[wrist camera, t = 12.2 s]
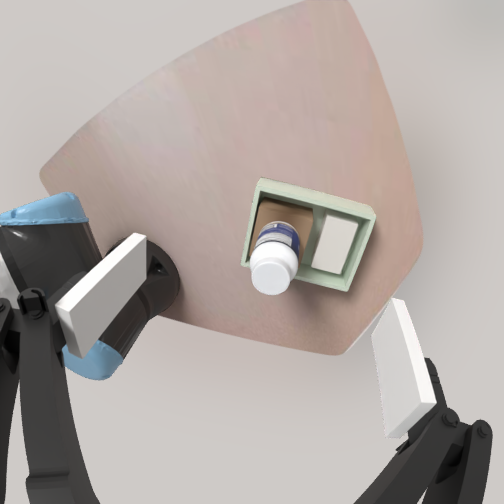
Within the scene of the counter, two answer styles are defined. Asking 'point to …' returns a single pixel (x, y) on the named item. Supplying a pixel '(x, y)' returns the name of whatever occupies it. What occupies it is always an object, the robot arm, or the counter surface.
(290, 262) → the pill bottle
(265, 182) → the box
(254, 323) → the counter surface
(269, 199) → the walnut block
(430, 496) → the robot arm
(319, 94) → the counter surface
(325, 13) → the counter surface
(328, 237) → the white box
